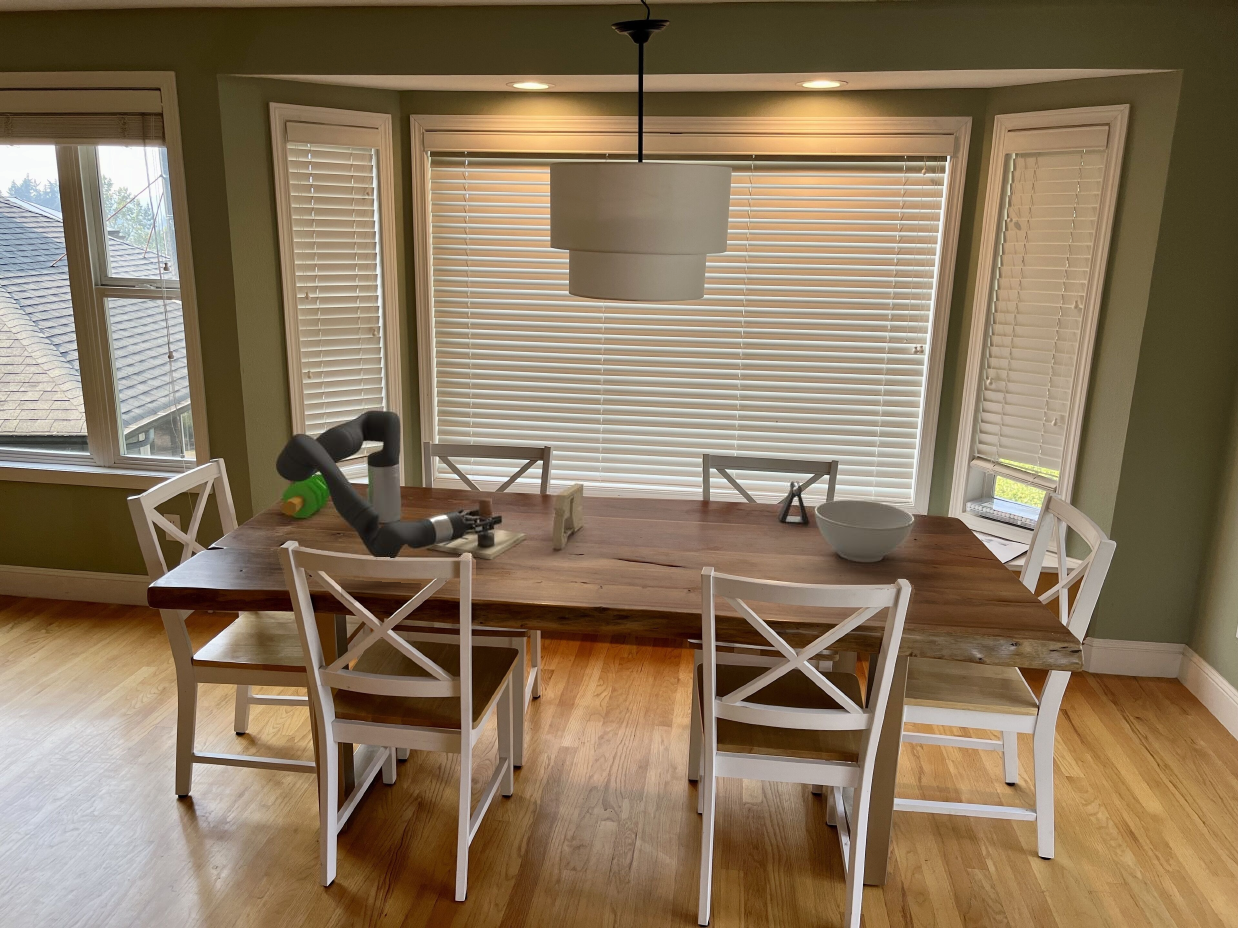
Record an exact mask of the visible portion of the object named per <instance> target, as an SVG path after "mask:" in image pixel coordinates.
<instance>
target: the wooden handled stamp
mask: <svg viewBox="0 0 1238 928" xmlns="http://www.w3.org/2000/svg"><path fill="white" fill-rule="evenodd" d="M478 509H479V516H482V517H483V518H490V517H493V498H491V497H481V498H478ZM478 521H479V523H480V520H478ZM483 522H484V521H483ZM494 545H495V544H494V533H492V532H488V531H486V532H482V533H478V546H479V547H483V548H488V547H492V546H494Z"/></svg>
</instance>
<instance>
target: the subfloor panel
mask: <svg viewBox="0 0 1238 928" xmlns="http://www.w3.org/2000/svg"><path fill="white" fill-rule="evenodd" d="M488 532H492V533H494V544H495V545H494V546H492V547H488V548H483V547H479V546H478V534H476V533H470V532H465V533H464V535H463V536H462V537H461V538H459V539H456V540H452V541H448V542H444V543H441V544H434V545H430V546H427V549H430V550H436V551H441V552H446V553H452V554H459V555H463V553H465V552H468V553H471V554H472V555H473V556H472V557H474V558H479V559H487V560H492V559H494V558H496V557H497V556H499V555H501V554H502V553H504V552H506V551H508V550H509V549H511V548H513V547H514V546H516V545H517V544H519V543H521V542H523V541H524V540H525V539H526V534H525V533H520V532H513V531H507V530H502V529H496V528H494V530H490V531H488Z"/></svg>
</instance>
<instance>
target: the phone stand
mask: <svg viewBox="0 0 1238 928" xmlns="http://www.w3.org/2000/svg"><path fill="white" fill-rule="evenodd" d="M796 484H797V485H796ZM796 486H797V487H796ZM789 487H790V489H789V491H788V493H787V495H786V498H785V500H784V503H783V504H782V506H781V509H780V511H779V513H778V520H779V522H780V523H783V524H784V523H788V524H794V523H795V524H807V525H808V524H810V520H809V518H808V514H807V511H806V508H805V504H804V500H803V497H802V489H803V488H802V486H801V485H800V482H799V481H798V480H796V483H795V480H792V481H791V482H790V484H789ZM795 497H797V501H798V506H799V511H800V516H793V515H791V516H790V515H789V513H790V510H791V507H792V504H793V502H794V499H795Z"/></svg>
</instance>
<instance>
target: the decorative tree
mask: <svg viewBox="0 0 1238 928" xmlns="http://www.w3.org/2000/svg"><path fill="white" fill-rule="evenodd" d="M329 497H331V496H330V492H329V490H328V487H327V484H326V482H325V480H324V478H323V476H322V475H321V473H316V474H314V475H313V476H311V477H310V478H309V479H307V480H305V481H301V482H295V483H294V484H291V485H290V486H289V487H288V488H287V489H286V490H285V491H284V492H283V493H282V499H283V500H282V501H283V502H282V503H283V504H281V505H280V509H281V513H283V514H284V515H287V516H292V517H294V518H303V519H304V518H305V519H308V518H309V517H310V516H312V515H313V514H314V513H316V512H317V511H320V510H321V509H322V508H323V507H324V506H325V505H326V504H327V503H328V499H329Z"/></svg>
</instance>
